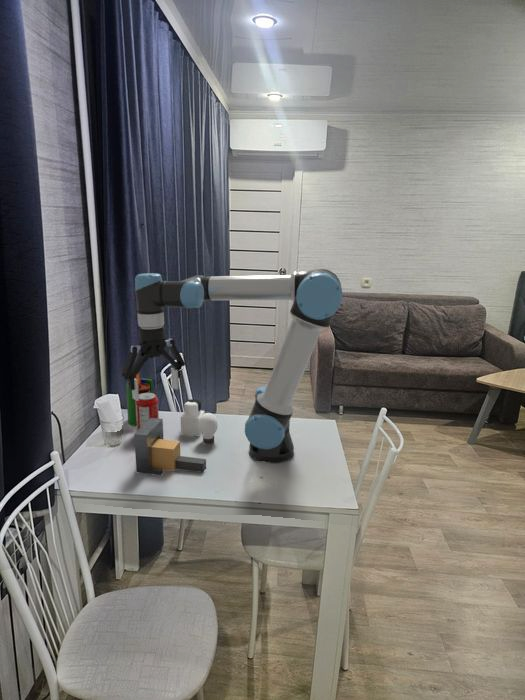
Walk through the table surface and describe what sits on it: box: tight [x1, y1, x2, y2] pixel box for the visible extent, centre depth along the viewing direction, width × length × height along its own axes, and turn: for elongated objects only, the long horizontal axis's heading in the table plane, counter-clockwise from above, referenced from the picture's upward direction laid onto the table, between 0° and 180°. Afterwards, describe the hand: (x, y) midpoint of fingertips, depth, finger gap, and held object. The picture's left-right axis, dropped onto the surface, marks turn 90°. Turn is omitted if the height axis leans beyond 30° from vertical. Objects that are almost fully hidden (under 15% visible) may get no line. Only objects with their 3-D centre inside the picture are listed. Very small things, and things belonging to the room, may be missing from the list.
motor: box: [125, 373, 154, 427], centre depth 169 cm, size 10×9×20 cm
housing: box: [133, 418, 164, 476], centre depth 139 cm, size 8×12×13 cm, turn 169°
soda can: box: [135, 393, 160, 432], centre depth 159 cm, size 8×8×15 cm
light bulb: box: [198, 412, 219, 445], centre depth 155 cm, size 7×7×11 cm
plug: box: [151, 438, 207, 473], centre depth 139 cm, size 17×6×8 cm, turn 79°
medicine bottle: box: [180, 398, 206, 437], centre depth 162 cm, size 7×7×12 cm
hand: (156, 393), depth 136 cm, fingers open, 13 cm apart
